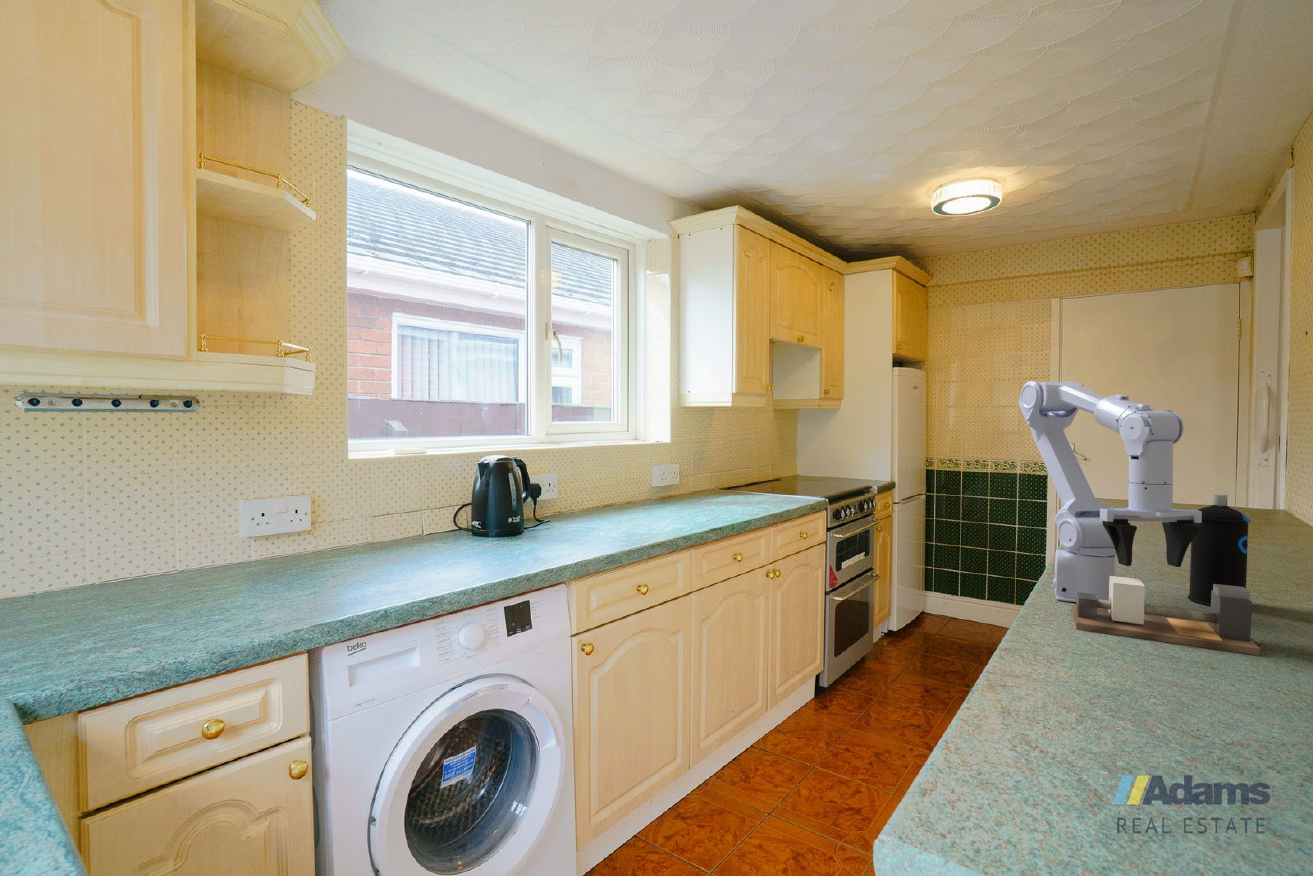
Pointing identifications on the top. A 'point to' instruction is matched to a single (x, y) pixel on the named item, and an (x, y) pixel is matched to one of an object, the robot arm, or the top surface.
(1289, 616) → the top surface
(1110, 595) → the sleeve
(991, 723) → the top surface
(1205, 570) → the aerosol can
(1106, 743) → the top surface
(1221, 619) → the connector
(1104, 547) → the robot arm
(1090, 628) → the rail board
